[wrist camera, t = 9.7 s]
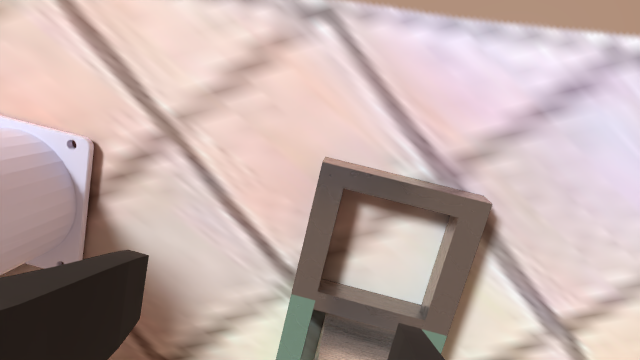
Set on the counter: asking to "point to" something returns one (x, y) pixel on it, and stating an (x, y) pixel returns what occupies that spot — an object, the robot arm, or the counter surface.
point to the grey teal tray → (369, 306)
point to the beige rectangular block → (352, 340)
